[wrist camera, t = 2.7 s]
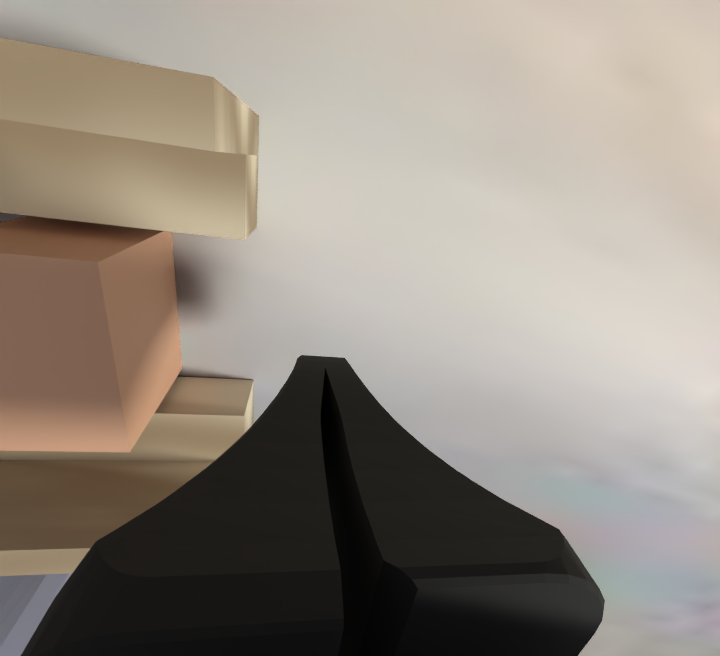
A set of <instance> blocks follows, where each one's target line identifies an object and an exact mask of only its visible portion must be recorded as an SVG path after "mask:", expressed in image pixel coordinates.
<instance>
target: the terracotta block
mask: <svg viewBox="0 0 720 656" xmlns="http://www.w3.org/2000/svg"><path fill="white" fill-rule="evenodd" d="M181 370H182V357H181V344H180V331H179V318H178V305H177V293H176V280H175V267H174V254H173V241H172V232H169V231H160V230H151V229H142V228H133V227H124V226H116V225H107V224H98V223H89V222H80V221H71V220H63V219H54V218H45V217H36V216H30V217H25V218H20V219H14V220H9V221H4V222H0V451H64V452H130V451H131V450H132V448H133V447H134V445H135V443H136V442H137V440H138V439H139V437H140V435H141V434H142V432H143V431H144V429H145V427H146V426H147V424H148V423H149V421H150V419H151V418H152V416H153V415H154V413H155V411H156V410H157V408H158V407H159V405H160V403H161V402H162V400H163V399H164V397H165V395H166V394H167V392H168V391H169V389H170V387H171V386H172V384H173V383H174V381H175V379H176V378H177V376H178V374H179V373H180V371H181Z"/></svg>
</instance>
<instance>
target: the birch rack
mask: <svg viewBox="0 0 720 656" xmlns="http://www.w3.org/2000/svg"><path fill="white" fill-rule="evenodd" d="M258 125H259V116H258V115H257V114H256V113H255V112H254V111H252V110H251V109H250V108H249V107H248V106H247V105H245V104H244V103H243V102H242V101H241V100H240V99H238V98H237V97H236V96H235V95H234V94H233V93H231V92H230V91H229V90H228V89H227V88H225V87H224V86H223V85H222V84H221V83H220V82H218V81H217V80H216V79H215V78H214V77H209V76H204V75H198V74H193V73H188V72H182V71H177V70H172V69H166V68H161V67H155V66H150V65H145V64H139V63H134V62H129V61H123V60H118V59H112V58H107V57H102V56H96V55H91V54H86V53H80V52H75V51H69V50H64V49H59V48H53V47H48V46H43V45H37V44H32V43H26V42H21V41H16V40H10V39H5V38H0V212H1V213H9V214H18V215H27V216H36V217H45V218H54V219H63V220H71V221H80V222H89V223H98V224H107V225H116V226H124V227H133V228H142V229H151V230H160V231H169V232H178V233H186V234H195V235H204V236H213V237H222V238H231V239H239V240H246V239H247V237H248V236H249V235H250V234H251V233H252V231H253V230H254V229H255V228H256V227H257V177H258ZM253 383H254V380H240V379H219V378H198V377H177V378H176V379H175V381H174V383H173V384H172V386H171V387H170V389H169V391H168V392H167V394H166V395H165V397H164V399H163V400H162V402H161V403H160V405H159V407H158V408H157V410H156V411H155V413H154V415H153V416H152V418H151V419H150V421H149V423H148V424H147V426H146V427H145V429H144V431H143V432H142V434H141V435H140V437H139V439H138V440H137V442H136V443H135V445H134V447H133V448H132V450H131V451H130V452H64V451H0V576H16V575H42V574H67V573H73V572H74V570H75V569H76V568H77V566H78V565H79V563H80V562H81V561H82V559H83V558H84V557H85V555H86V554H87V552H88V551H89V550H90V548H91V547H92V546H93V544H94V543H95V542H96V541H97V540H99V539H100V538H102V537H104V536H106V535H107V534H109V533H111V532H112V531H114V530H116V529H117V528H119V527H121V526H122V525H124V524H125V523H127V522H129V521H130V520H132V519H133V518H135V517H137V516H138V515H140V514H141V513H143V512H145V511H146V510H148V509H150V508H151V507H153V506H154V505H156V504H157V503H159V502H160V501H162V500H163V499H165V498H166V497H168V496H169V495H170V494H172V493H173V492H174V491H176V490H177V489H178V488H180V487H181V486H182V485H184V484H185V483H186V482H188V481H189V480H191V479H192V478H193V477H195V476H196V475H197V474H199V473H200V472H201V471H203V470H204V469H205V468H206V467H208V466H209V465H210V464H211V463H212V462H214V461H215V460H216V459H217V458H218V457H220V456H221V455H222V454H223V453H224V452H225V451H226V450H227V449H228V448H230V447H231V446H232V445H233V444H234V443H235V442H236V441H237V440H238V439H239V438H240V437H241V436H242V435H243V434H244V433H245V432H246V431H247V430H248V429H249V428H250V427H251V426H252V425H253Z"/></svg>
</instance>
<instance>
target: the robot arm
mask: <svg viewBox="0 0 720 656" xmlns="http://www.w3.org/2000/svg"><path fill="white" fill-rule="evenodd" d="M604 601H605V600H604V598H603V596H602V594H601V591H600V589H599V588H598V586H597V585H596V583H595V582H594V580H593V579H592V577H591V576H590V574H589V573H588V571H587V570H586V568H585V567H584V565H583V564H582V562H581V561H580V559H579V558H578V556H577V555H576V553H575V552H574V550H573V549H572V547H571V546H570V544H569V543H568V541H567V540H566V538H565V537H564V536H563V534H562V533H561V532H560V530H559V529H557V528H555V527H553V526H552V525H550V524H548V523H546V522H544V521H542V520H540V519H538V518H537V517H535V516H533V515H531V514H529V513H527V512H525V511H523V510H521V509H520V508H518V507H516V506H514V505H512V504H510V503H508V502H506V501H505V500H503V499H501V498H499V497H498V496H496V495H494V494H493V493H491V492H490V491H488V490H486V489H485V488H483V487H481V486H480V485H478V484H476V483H475V482H473V481H472V480H470V479H469V478H467V477H466V476H464V475H463V474H461V473H460V472H458V471H457V470H455V469H454V468H452V467H451V466H450V465H448V464H447V463H446V462H444V461H443V460H442V459H440V458H439V457H437V456H436V455H435V454H433V453H432V452H431V451H430V450H428V449H427V448H426V447H424V446H423V445H422V444H421V443H420V442H419V441H417V440H416V439H415V438H414V437H413V436H412V435H411V434H409V433H408V432H407V431H406V430H405V429H404V428H403V427H402V426H401V425H399V424H398V423H397V422H396V421H395V420H394V419H393V418H392V417H391V415H390V414H389V413H388V412H387V411H386V410H385V409H384V408H383V407H382V406H381V405H380V404H379V402H378V401H377V400H376V399H375V398H374V396H373V395H372V394H371V393H370V391H369V390H368V389H367V388H366V386H365V385H364V384H363V383H362V381H361V380H360V378H359V377H358V376H357V374H356V373H355V372H354V370H353V369H352V367H351V366H350V364H349V363H348V362H347V360H346V359H345V358H337V357H321V356H305V355H301V356H300V357H299V358H297V362H296V364H295V367H294V369H293V371H292V373H291V374H290V376H289V378H288V380H287V381H286V383H285V384H284V386H283V387H282V389H281V390H280V392H279V393H278V395H277V396H276V397H275V399H274V400H273V401H272V402H271V404H270V405H269V406H268V407H267V409H266V410H265V411H264V413H263V414H262V415H261V416H260V417H259V418H258V419H257V421H256V422H255V423H254V424H253V425H252V426H251V427H250V428H249V429H248V430H247V431H246V432H245V433H244V434H243V435H242V436H241V437H240V438H239V439H238V440H237V441H236V442H235V443H234V444H233V445H232V446H231V447H230V448H228V449H227V450H226V451H225V452H224V453H223V454H222V455H221V456H220V457H218V458H217V459H216V460H215V461H214V462H212V463H211V464H210V465H209V466H208V467H206V468H205V469H204V470H203V471H201V472H200V473H199V474H197V475H196V476H195V477H193V478H192V479H191V480H189V481H188V482H186V483H185V484H184V485H182V486H181V487H180V488H178V489H177V490H176V491H174V492H173V493H172V494H170V495H169V496H168V497H166V498H165V499H163V500H162V501H160V502H159V503H157V504H156V505H154V506H153V507H151V508H150V509H148V510H146V511H145V512H143V513H141V514H140V515H138V516H137V517H135V518H133V519H132V520H130V521H129V522H127V523H125V524H124V525H122V526H121V527H119V528H117V529H116V530H114V531H112V532H111V533H109V534H107V535H106V536H104V537H102V538H100V539H99V540H97V541H96V542H95V543H94V544H93V546H92V547H91V548H90V550H89V551H88V552H87V554H86V555H85V557H84V558H83V559H82V561H81V562H80V563H79V565H78V566H77V568H76V569H75V570H74V572H73V573H67V574H42V575H16V576H0V656H578V654H579V653H580V652H581V650H582V649H583V648H584V647H585V645H586V644H587V643H588V641H589V640H590V639H591V637H592V636H593V635H594V633H595V632H596V630H597V628H598V626H599V625H600V623H601V621H602V617H603V610H604Z"/></svg>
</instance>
